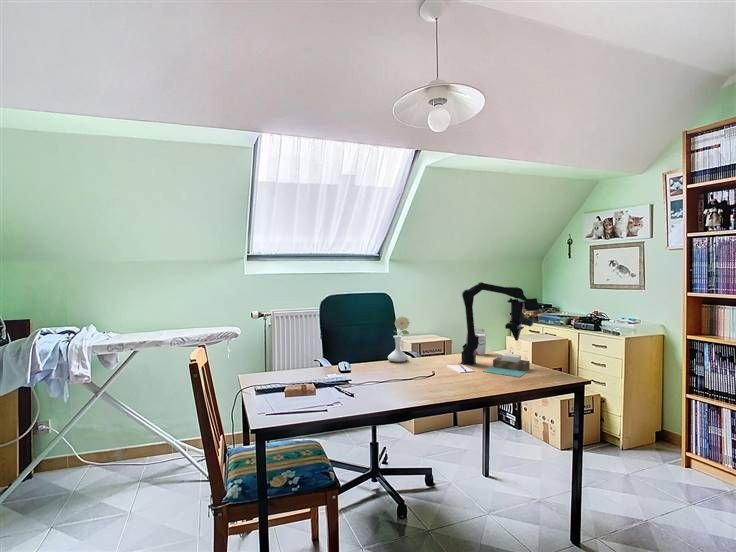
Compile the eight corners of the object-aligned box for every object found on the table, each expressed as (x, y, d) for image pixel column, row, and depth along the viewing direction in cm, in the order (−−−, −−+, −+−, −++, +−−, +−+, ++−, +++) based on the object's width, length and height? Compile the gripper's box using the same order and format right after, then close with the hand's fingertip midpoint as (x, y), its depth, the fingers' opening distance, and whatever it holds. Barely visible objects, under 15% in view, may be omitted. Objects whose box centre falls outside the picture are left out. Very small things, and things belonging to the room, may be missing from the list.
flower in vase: (383, 361, 236) (383, 316, 236) (393, 357, 246) (393, 314, 245) (405, 364, 230) (404, 318, 229) (414, 360, 239) (414, 315, 238)
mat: (482, 371, 213) (482, 371, 213) (491, 367, 222) (491, 366, 222) (519, 377, 202) (519, 376, 202) (526, 372, 211) (526, 371, 211)
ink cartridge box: (470, 354, 251) (470, 329, 251) (469, 353, 256) (469, 328, 256) (485, 355, 250) (485, 330, 250) (484, 353, 255) (484, 328, 255)
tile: (501, 360, 220) (501, 355, 220) (505, 358, 225) (505, 353, 225) (517, 362, 215) (517, 357, 215) (521, 360, 220) (521, 355, 220)
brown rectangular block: (493, 367, 221) (493, 359, 221) (498, 364, 228) (498, 357, 227) (524, 372, 212) (524, 364, 211) (529, 368, 218) (529, 360, 218)
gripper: (527, 313, 213) (527, 345, 214) (537, 310, 228) (537, 339, 229) (504, 312, 220) (504, 342, 221) (516, 309, 235) (516, 337, 236)
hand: (516, 340), depth 226 cm, fingers closed
